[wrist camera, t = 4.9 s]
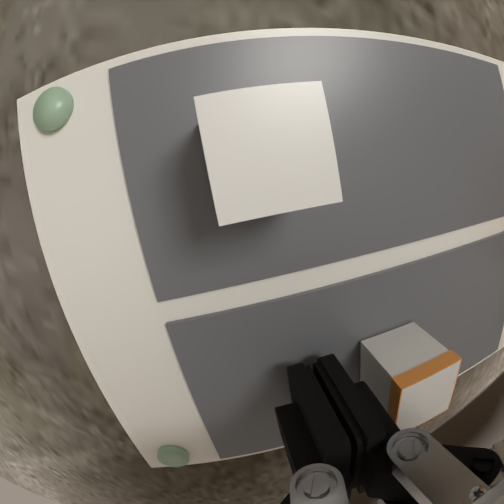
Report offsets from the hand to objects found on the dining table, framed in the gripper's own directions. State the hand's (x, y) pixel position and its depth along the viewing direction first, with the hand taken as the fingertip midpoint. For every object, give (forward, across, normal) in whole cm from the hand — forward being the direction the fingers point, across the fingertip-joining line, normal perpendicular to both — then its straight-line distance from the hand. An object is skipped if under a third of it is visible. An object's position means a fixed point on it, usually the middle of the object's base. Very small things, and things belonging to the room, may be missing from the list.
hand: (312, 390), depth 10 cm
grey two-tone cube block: (0, -3, 0) cm, 3 cm away
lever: (0, +1, -8) cm, 8 cm away
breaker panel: (+3, -6, -4) cm, 8 cm away
